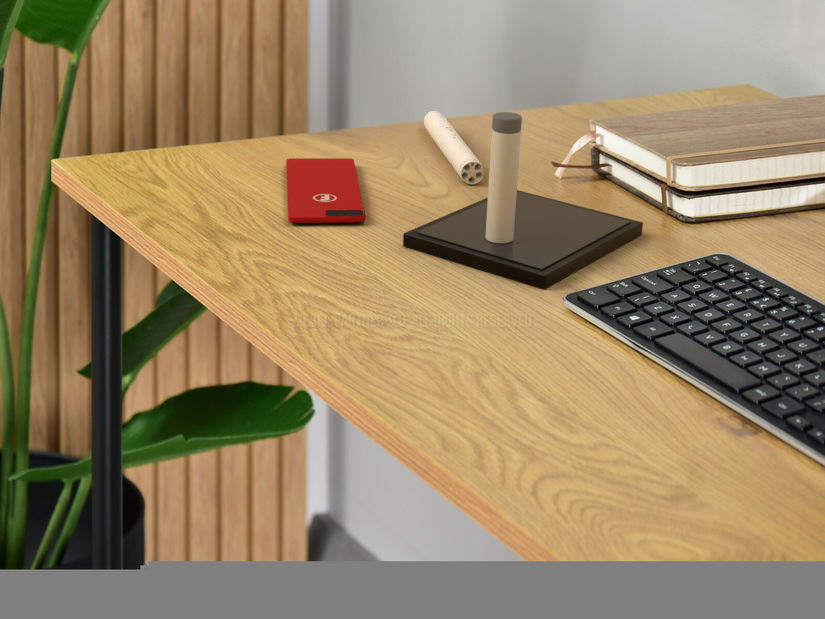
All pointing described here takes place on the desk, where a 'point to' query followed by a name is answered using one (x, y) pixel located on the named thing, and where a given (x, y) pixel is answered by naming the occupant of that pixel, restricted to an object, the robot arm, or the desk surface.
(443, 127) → the cream cylinder
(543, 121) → the desk surface
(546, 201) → the tablet
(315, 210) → the electronic device
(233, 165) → the desk surface
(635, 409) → the desk surface
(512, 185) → the stylus
